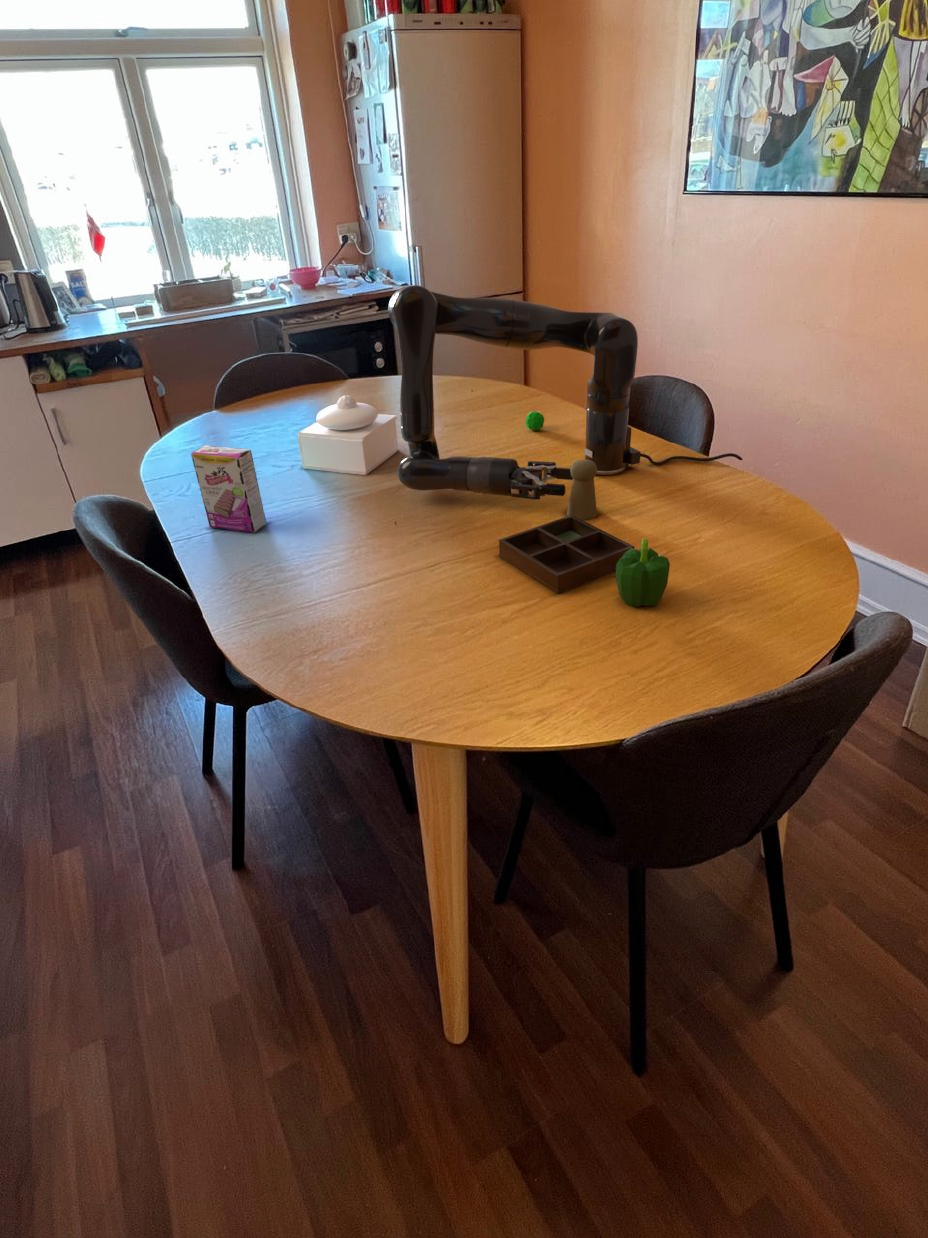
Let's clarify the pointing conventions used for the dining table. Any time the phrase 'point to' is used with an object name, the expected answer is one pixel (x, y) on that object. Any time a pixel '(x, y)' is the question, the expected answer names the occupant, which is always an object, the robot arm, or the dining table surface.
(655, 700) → the dining table surface
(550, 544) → the compartment tray
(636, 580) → the bell pepper
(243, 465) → the candy bar box
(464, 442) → the dining table surface
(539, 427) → the green pom-pom ball
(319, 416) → the butter dish
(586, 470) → the pawn
